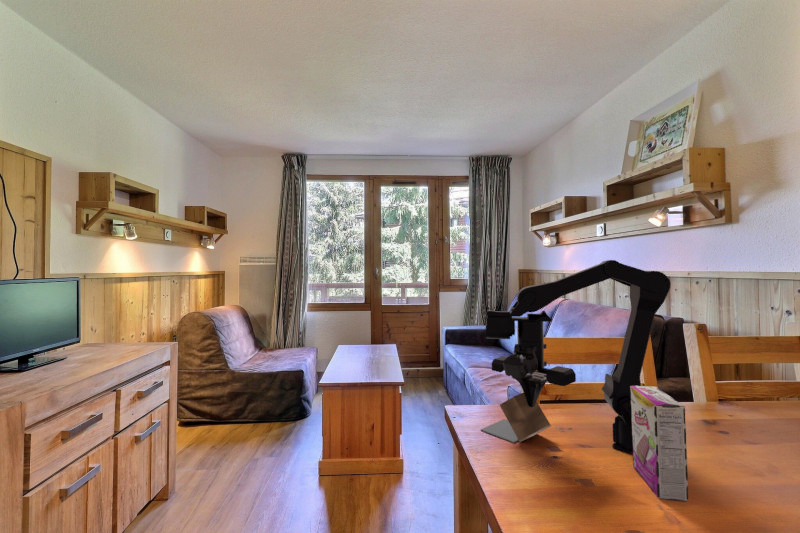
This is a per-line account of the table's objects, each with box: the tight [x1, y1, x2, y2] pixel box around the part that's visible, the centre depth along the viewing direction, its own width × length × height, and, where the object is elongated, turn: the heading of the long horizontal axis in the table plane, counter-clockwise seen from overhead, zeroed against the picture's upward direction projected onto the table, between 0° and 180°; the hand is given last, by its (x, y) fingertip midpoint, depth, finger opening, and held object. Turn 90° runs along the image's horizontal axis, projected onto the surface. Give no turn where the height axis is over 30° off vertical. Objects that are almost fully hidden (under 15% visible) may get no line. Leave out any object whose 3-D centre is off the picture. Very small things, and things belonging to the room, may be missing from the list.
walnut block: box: [499, 392, 552, 443], centre depth 90 cm, size 5×7×9 cm
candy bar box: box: [630, 385, 689, 502], centre depth 70 cm, size 11×5×16 cm, turn 168°
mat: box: [480, 418, 519, 444], centre depth 94 cm, size 10×10×1 cm
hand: (531, 406), depth 89 cm, fingers closed
